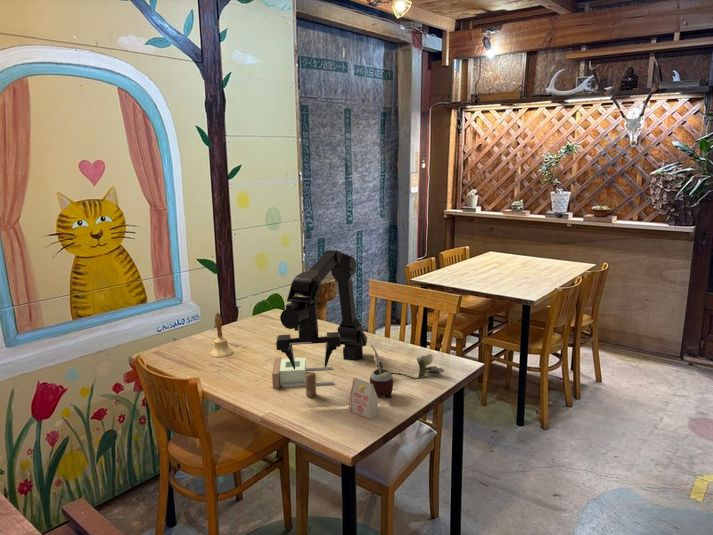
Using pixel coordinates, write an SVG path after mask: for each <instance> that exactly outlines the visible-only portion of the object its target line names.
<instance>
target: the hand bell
mask: <svg viewBox="0 0 713 535" xmlns="http://www.w3.org/2000/svg"><path fill="white" fill-rule="evenodd" d="M214 324H215V328H216V330H217V338H216V339H215V340H214V344H213V345H214V346H213V349H212V350H211V351H210V356H211V357H212V356H213V358H225V357H228V356H231V355H232V354H233V353H234V351H233V349H232V348H231V347H230V346H229V344H228V340H227V338H226V337H224V336H223V331H222V327H223V319H222V316H221V313H220V312H216V313H215V316H214Z"/></svg>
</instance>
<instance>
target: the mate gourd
mask: <svg viewBox="0 0 713 535" xmlns="http://www.w3.org/2000/svg"><path fill="white" fill-rule="evenodd" d="M370 346H371V348H372V350H373V352H374V355H375V359H376V364H377V363H378V367H377V368H376V369H375V370H373V371H372V373H371V374H370V377H369V383H371V384H373V386H374V389H375V392H376V394H377V399H380V398H382V397H384V399H388V400H389V399H392V398H393V396H392V393H393V390H394V389H393V388H394V377H393V374H391V372H392V371H390V370H388V369H384V368H382V369H380V364H379V362H380V360H379V353H378V352H377V350H376V348H375V347H374V346H373V344H370ZM378 368H379V369H378Z"/></svg>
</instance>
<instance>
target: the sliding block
mask: <svg viewBox="0 0 713 535" xmlns="http://www.w3.org/2000/svg"><path fill="white" fill-rule="evenodd" d="M294 360H295V369H294V368H293V366H292V364H291V362H290V360H289V358H281V364H280V370H279V373H280V387H283V384H291V383H306V380H305V374H306V373H307V371H306V368H307V364H306V363H307V362H306V357H296V358H295V357H294Z"/></svg>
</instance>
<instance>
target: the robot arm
mask: <svg viewBox="0 0 713 535" xmlns="http://www.w3.org/2000/svg"><path fill="white" fill-rule="evenodd" d="M356 268H357V260H356V258H355V257H353V255H348V254H346V253H343V252H341V251H339V250H335V249H334V250H333V249H327V250H325V251H324V252H323V254H322V256H321V257H320V258H319V259H318V260H317V261H316V262H315V264H313V265H312V267H311V268H310V269H309V270H306V271H303V272H301V273H298V274H297V275H296V276H295V277H294V278H293V280H292V282H291V285H290V288H289V291H288V295H287V299H286V302H288V304H286V305H285V309H283V310H282V311H281V313H280V316H279V318H280V322H281V324H282V326H283V327H284V328H286V329H289V330H294V332H298V337H292V336H291V334H279V335H277V337H276V341H275V344H276V347H275V348H276V351H281V353H283V354H285V355H286V357H287V359H289V360H290V362H291V364H292V366H293V368H294V369H295V360H294V358H295V355H294V349H293V345H312V344H315V345H317V344H325V352H324V354H325V355H324V367H325V368H326V366H328V364H329V360H330V357H331V355H332V354H333V351H334V350H337V348H340V347H341V346H342V345H344V346H343V347H342V356H343V357H342V358H343V360H345V361H350V362H351V361H360V360H363V359H364V356H363V355H364V354H363V353H364V352H363V347H366V346H367V342H368V336H367V335H366V334H365V332H364V330H363V325H362V323H361V322H360V320H359V319H358V318H357V317H356V307H355V306H356V305H355V298H354V288H353V278H354V276H355V274H356V272H357V270H356ZM329 273H331V275H332V277H333V278H334V280H335V281H336V282H337V289H338V295H339V298H338V299H339V304H340V313H341V322H340V323H339V325H338V327H337V329H336V330H337V331H331V332H330V331H329V332H328V331H327V332H326V335H325V336H319V325H318V323H319V322H318V308H317V307H318V304H317V301H319V300H320V296H319V292H321V289H322V282H323V280H324V279H325V278H326V276H328V274H329Z"/></svg>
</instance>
